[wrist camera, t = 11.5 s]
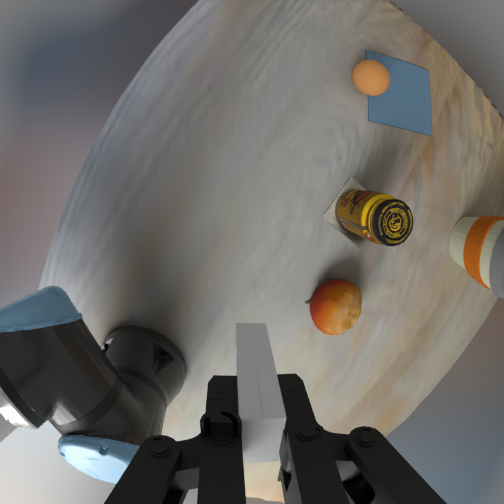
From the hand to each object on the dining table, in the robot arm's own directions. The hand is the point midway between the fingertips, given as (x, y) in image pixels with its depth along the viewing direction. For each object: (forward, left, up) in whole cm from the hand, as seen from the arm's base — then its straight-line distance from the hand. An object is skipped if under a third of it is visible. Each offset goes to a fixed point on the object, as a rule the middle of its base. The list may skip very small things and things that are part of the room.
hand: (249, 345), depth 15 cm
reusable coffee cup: (+41, +1, -27) cm, 49 cm away
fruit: (+14, -9, -27) cm, 31 cm away
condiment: (+17, +4, -27) cm, 32 cm away
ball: (+17, +24, -24) cm, 38 cm away
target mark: (+24, +24, -26) cm, 43 cm away
